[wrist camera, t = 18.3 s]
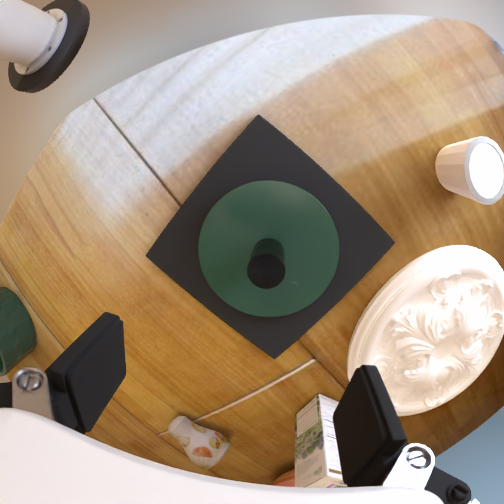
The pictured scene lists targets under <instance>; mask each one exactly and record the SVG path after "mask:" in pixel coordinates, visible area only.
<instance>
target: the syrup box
mask: <svg viewBox="0 0 504 504" xmlns="http://www.w3.org/2000/svg"><path fill="white" fill-rule="evenodd" d="M338 403H339V402H338V401H335V400H333V399H331V398H328V397H326V396H324V395H321V394H317V395H316V396H315V397H314V398H313V399H312V400H311V401H310V402H309V403H308V404H306V405H305V406H304V407H303V408H302V409H301V410H300V411H299V412H297V413H296V414H295V487H303V488H347V484H344V482H343V478H342V472H341V465H340V459H339V453H338V447H337V441H336V436H335V430H334V424H333V413H334V411H335V409H336V407H337V405H338Z"/></svg>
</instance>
